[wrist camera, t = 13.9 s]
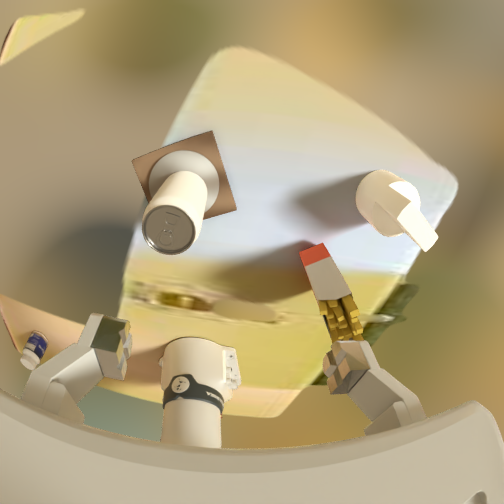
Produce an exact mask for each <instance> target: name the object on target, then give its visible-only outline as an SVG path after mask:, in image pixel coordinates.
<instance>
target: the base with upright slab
mask: <svg viewBox="0 0 504 504" xmlns="http://www.w3.org/2000/svg"><path fill="white" fill-rule="evenodd" d="M355 200H356V206H357V209H358V211H359V212H360V214H361V215H362V216H363V217H364V218H365V219H366V220H367V221H368V222H369V223H370V224H371V225H372V226H373V227H374V228H375V229H376V230H377V231H378V232H379V233H380V234H382V235H383V236H387V237H395V236H398V235H401V234H403V233H404V232H405V233H406V234H407V235H408V236H409V237H410V238H411V239H412V240H413V241H414V242H416V243H417V244H418V245H419V246H420V247H421V248H422V249H423V250H424V251H425V252H426V251H427V250H429V249H430V248H431V247H432V245H433V244H434V243H435V242H436V240H437V239H438V236H437V234H436V233H435V231H434V230H433V229H432V227H431V226H430V224H429V223H428V222H427V220H426V219H425V218H424V216H423V215H422V214H421V212H420V211H419V210H420V198H419V194H418V192H417V190H416V188H415V187H414V186H413V185H411V184H410V183H408V182H407V181H405V180H403V179H402V178H400V177H398V176H396V175H395V174H393V173H391V172H389V171H386V170H376V171H373V172H371V173H369V174H368V175H367V176H365V177H364V178H363V179H362V181H361V182H360V184H359V186H358V188H357V191H356V198H355Z"/></svg>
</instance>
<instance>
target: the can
mask: <svg viewBox="0 0 504 504" xmlns="http://www.w3.org/2000/svg"><path fill="white" fill-rule="evenodd" d="M206 200H207V187H206V184H205V182H204V181H203V180H202V178H201V177H200V176H198V175H197V174H195V173H193V172H189V171H179V172H176V173H174V174H172V175H170V176H169V177H168V178H167V179H166V180H165V182H164V183H163V184H162V186H161V187H160V188H159V190H158V191H157V193H156V194H155V195H154V197H153V198H152V200H151V201H150V203H149V204H148V206H147V207H146V209H145V211H144V214H143V219H142V233H143V236H144V239H145V241H146V242H147V244H148V245H149V246H150V247H151V248H152V249H154V250H155V251H157V252H159V253H162V254H166V255H176V254H180V253H182V252H184V251H186V250H187V249H188V248H189V247H190V246H191V245H192V244H193V243H194V242H195V240H196V239H197V237H198V235H199V233H200V230H201V226H202V221H203V216H204V211H205V206H206Z"/></svg>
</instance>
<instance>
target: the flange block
mask: <svg viewBox="0 0 504 504" xmlns="http://www.w3.org/2000/svg"><path fill="white" fill-rule="evenodd" d="M132 163H133V166H134V168H135V171H136V173H137V176H138V178H139V181H140V183H141V186H142V188H143V190H144V193H145V195H146V198H147V200H148V203H150V201H151V200H152V198H153V197H154V195H155V194H156V193H157V191H158V190H159V188H160V187H161V186H162V184H163V183H164V182H165V180H166V179H167V178H168V177H169V176H170V175H172V174H174V173H176V172H179V171H189V172H193V173H195V174H197V175H198V176H200V177H201V178H202V180H203V181H204V182H205V184H206V187H207V200H206V206H205V211H204V216H203V220H204V219H208V218H211V217H214V216H218V215H221V214H225V213H228V212H232V211H235V210H237V207H236V204H235V201H234V198H233V195H232V192H231V188H230V185H229V182H228V179H227V176H226V172H225V169H224V166H223V163H222V160H221V157H220V153H219V150H218V147H217V144H216V141H215V137H214V134H213V131H209V132H206V133H203V134H200V135H197V136H194V137H191V138H188V139H185V140H182V141H179V142H176V143H174V144H171V145H168V146H166V147H163V148H160V149H158V150H155V151H153V152H150V153H148V154H145V155H143V156H140V157H138V158H136V159H133V160H132Z"/></svg>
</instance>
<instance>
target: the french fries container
mask: <svg viewBox="0 0 504 504" xmlns="http://www.w3.org/2000/svg"><path fill="white" fill-rule="evenodd" d="M299 255H300V258H301V260H302V263H303V266H304V268H305V271H306V274H307V276H308V279H309V282H310V284H311V287H312V290H313V292H314V295H315V297H316V300H317V303H318V305H319V309H320V315H322V316H323V318H324V321H325V324H326V326H327V329H328V332H329V334H330V337H331V340H332V344H333V343H334V342H335V341H364V339H363V338H362V336H361V334H360V333H363V328H362V326H361V324H360V322H359V320H358V318H357V316H358V315H360V313H359V310H358V308H357V306H356V304H355V302H354V301H353V297H352V293H351V291H350V289H349V287H348V285H347V284H346V282H345V280H344V278H343V277H342V275H341V273H340V271H339V269H338V268H337V266H336V264H335V262H334V261H333V259H332V257H331V256H330V254H329V252H328V250H327V249H326V247H325V245H324V244H323V243H321V244H318V245H316V246H313V247H311V248H308V249H306V250H303V251H301V252H299Z"/></svg>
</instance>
